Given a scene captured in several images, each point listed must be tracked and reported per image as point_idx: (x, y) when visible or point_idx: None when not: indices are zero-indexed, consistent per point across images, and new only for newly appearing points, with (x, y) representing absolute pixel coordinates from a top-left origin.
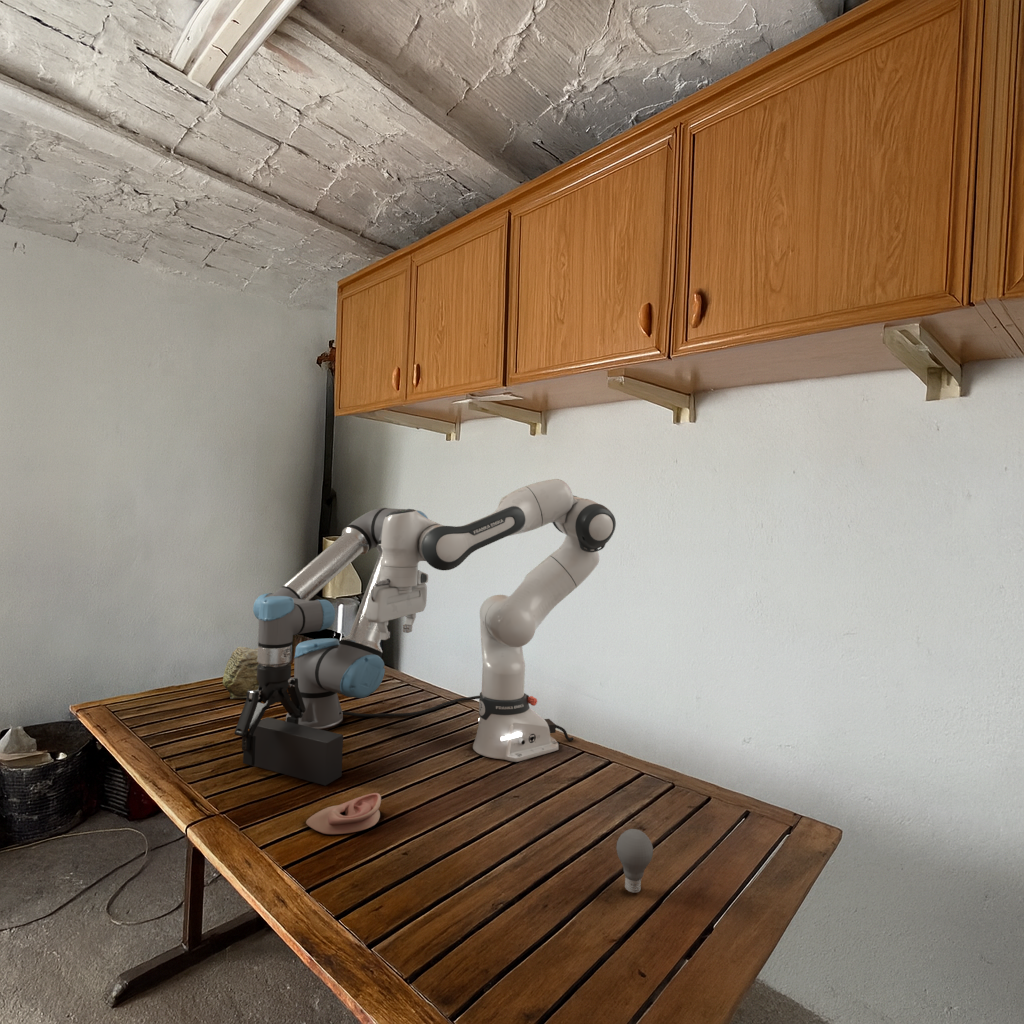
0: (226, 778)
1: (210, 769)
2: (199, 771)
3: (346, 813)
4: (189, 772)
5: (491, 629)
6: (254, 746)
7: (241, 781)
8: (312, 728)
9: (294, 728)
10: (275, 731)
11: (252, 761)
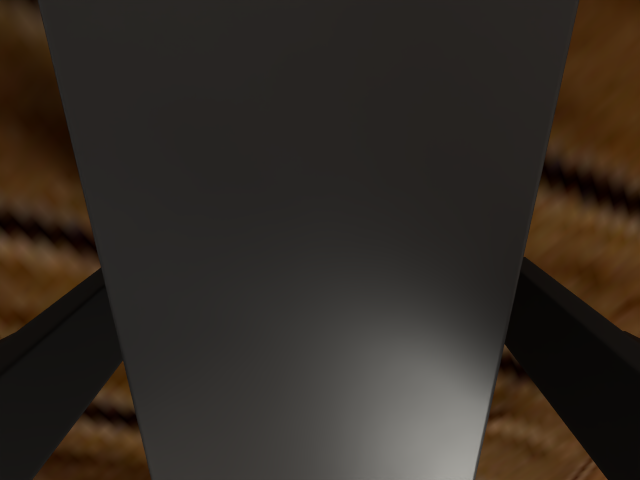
0: None
1: (488, 430)
2: (520, 447)
3: None
4: (541, 467)
5: None
6: (595, 328)
7: (557, 235)
8: None
9: (288, 82)
10: (504, 297)
11: (534, 269)
